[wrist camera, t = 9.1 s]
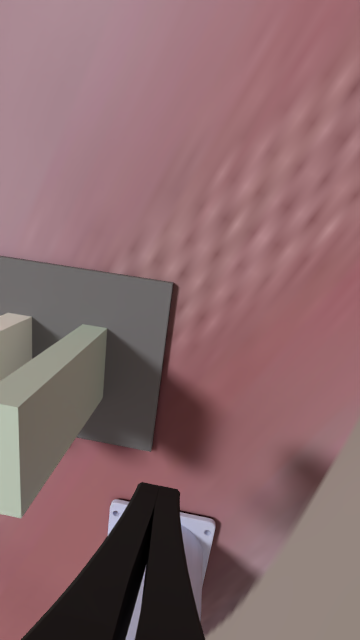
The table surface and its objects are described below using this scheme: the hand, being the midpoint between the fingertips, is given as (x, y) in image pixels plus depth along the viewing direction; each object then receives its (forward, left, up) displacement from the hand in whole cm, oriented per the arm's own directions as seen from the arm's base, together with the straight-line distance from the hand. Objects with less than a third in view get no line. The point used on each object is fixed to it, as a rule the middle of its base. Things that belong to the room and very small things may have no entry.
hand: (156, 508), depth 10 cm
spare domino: (0, +6, -10) cm, 11 cm away
